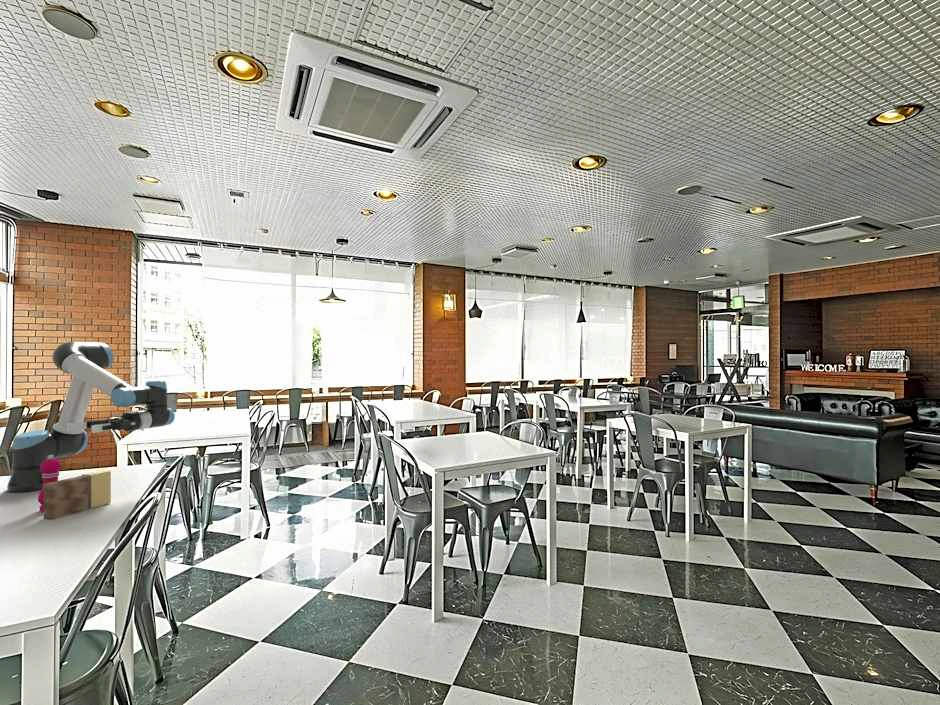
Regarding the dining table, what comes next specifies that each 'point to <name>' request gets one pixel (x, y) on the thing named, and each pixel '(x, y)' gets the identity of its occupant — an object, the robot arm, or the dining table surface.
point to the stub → (99, 488)
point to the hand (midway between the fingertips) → (79, 428)
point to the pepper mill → (48, 475)
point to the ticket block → (65, 497)
